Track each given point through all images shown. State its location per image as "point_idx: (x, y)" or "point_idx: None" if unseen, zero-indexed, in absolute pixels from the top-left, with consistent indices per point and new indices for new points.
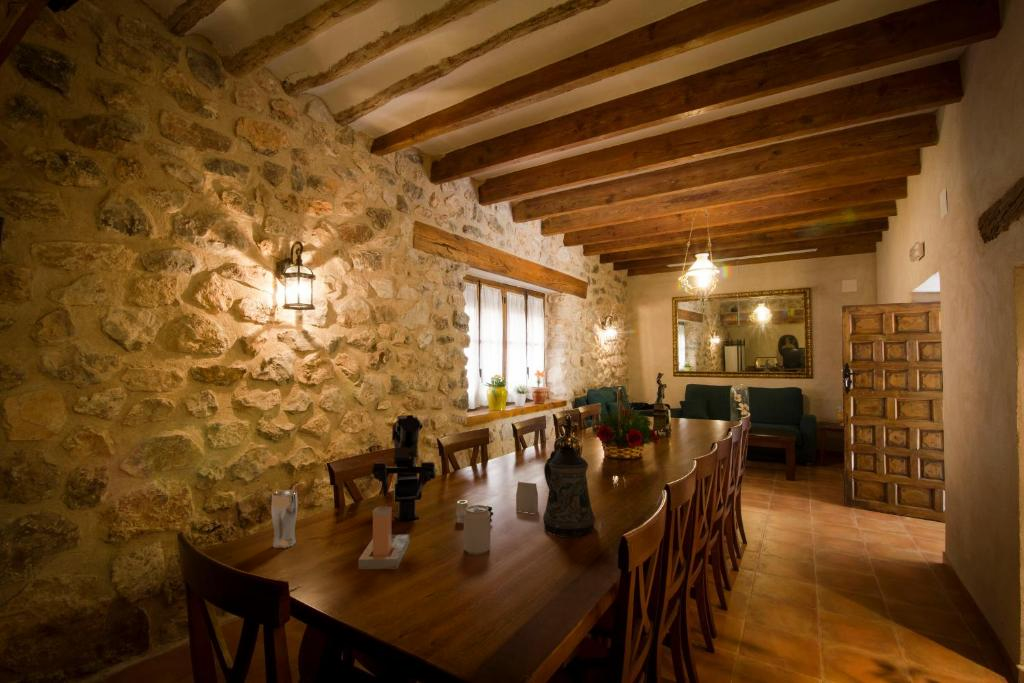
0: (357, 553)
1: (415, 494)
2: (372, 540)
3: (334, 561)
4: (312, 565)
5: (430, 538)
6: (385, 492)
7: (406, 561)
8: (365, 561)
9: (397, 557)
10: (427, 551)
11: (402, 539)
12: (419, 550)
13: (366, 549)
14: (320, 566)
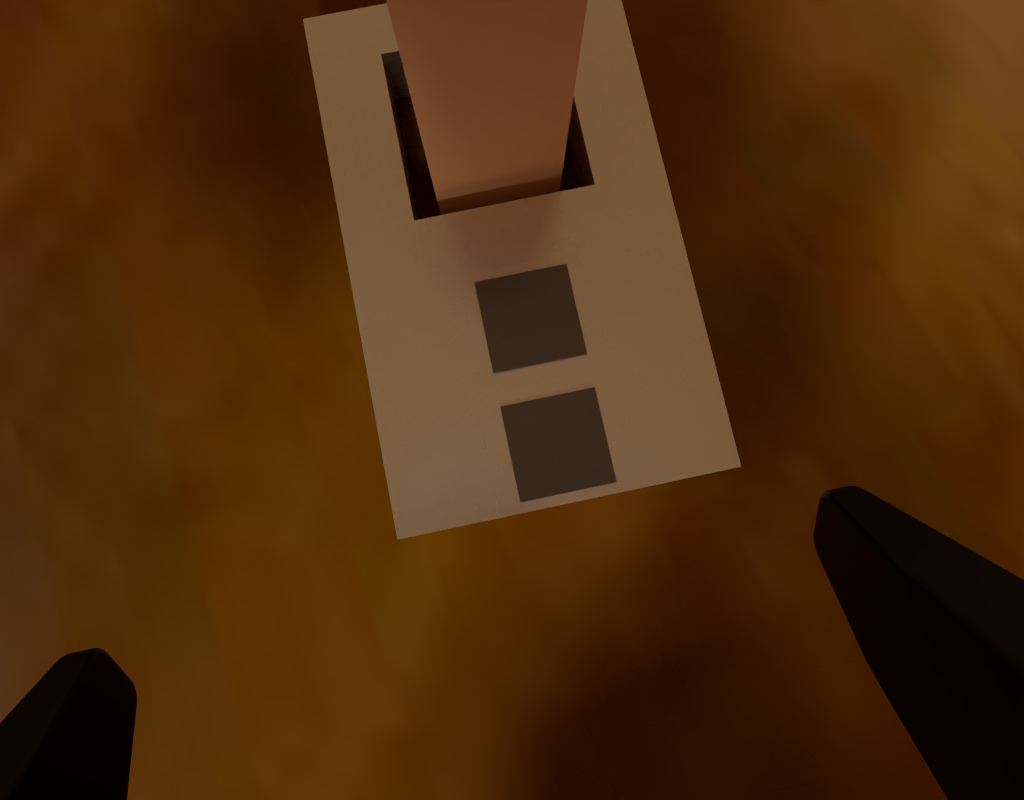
0: (756, 257)
1: (91, 655)
2: (695, 334)
3: (850, 98)
4: (968, 14)
5: (249, 685)
6: (861, 525)
7: (301, 191)
8: None
9: (313, 46)
10: (191, 396)
11: (418, 407)
12: (266, 403)
13: (646, 141)
14: (900, 10)
